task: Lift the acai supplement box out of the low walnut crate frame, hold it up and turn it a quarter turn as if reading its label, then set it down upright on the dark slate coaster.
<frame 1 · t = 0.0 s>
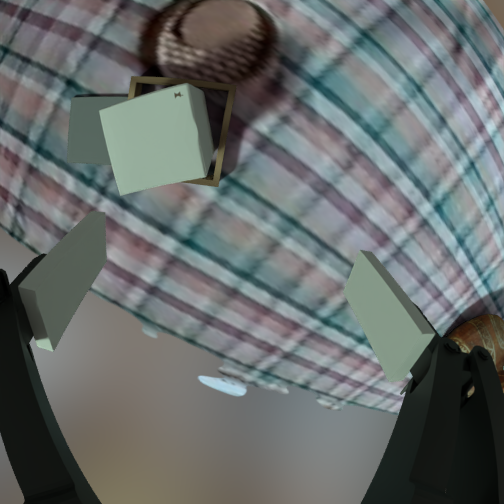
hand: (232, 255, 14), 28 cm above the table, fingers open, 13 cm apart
supplement box: (178, 128, 36), resting in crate
jug: (456, 344, 65), on the table
coaster: (98, 130, 35), on the table
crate: (177, 128, 36), on the table
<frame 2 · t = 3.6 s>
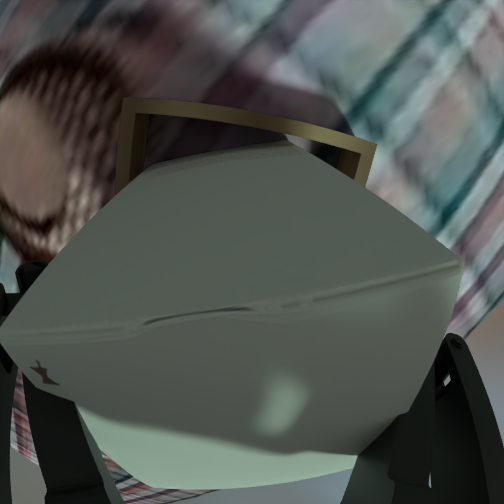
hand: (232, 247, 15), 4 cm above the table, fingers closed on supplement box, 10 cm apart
supplement box: (231, 215, 19), resting in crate, touching gripper
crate: (231, 216, 19), on the table
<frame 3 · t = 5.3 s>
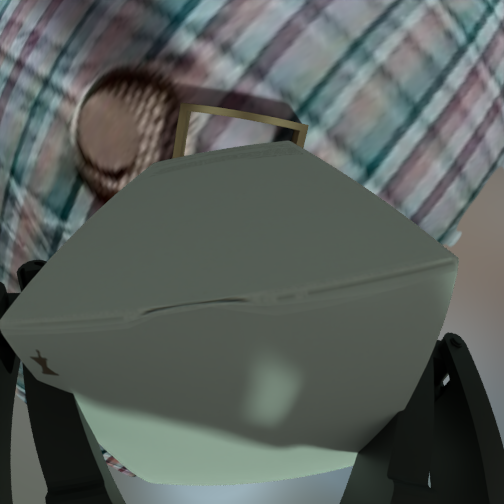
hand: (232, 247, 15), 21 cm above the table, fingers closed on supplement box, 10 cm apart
supplement box: (232, 214, 19), point 16 cm above the table, touching gripper
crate: (233, 167, 33), on the table
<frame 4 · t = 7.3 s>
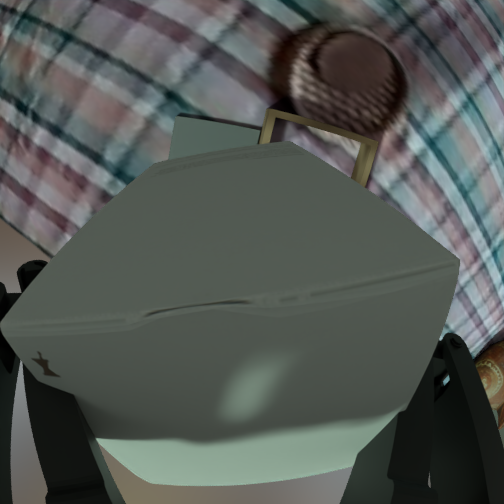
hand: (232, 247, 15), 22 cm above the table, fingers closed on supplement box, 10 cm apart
supplement box: (233, 214, 19), point 17 cm above the table, touching gripper
jug: (483, 362, 65), on the table
coaster: (210, 162, 34), on the table
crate: (306, 174, 35), on the table
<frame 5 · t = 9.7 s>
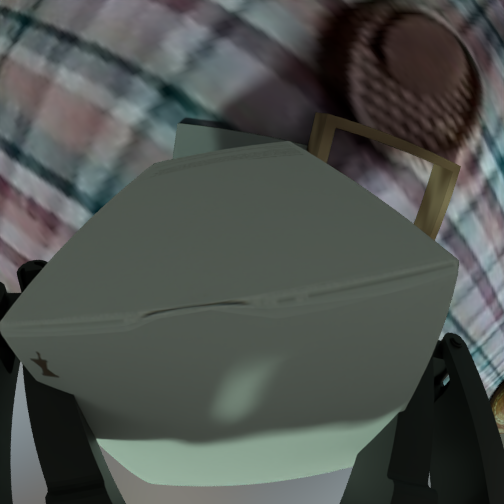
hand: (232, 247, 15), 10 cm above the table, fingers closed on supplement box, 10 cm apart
supplement box: (233, 214, 19), point 5 cm above the table, touching gripper
coaster: (231, 192, 23), on the table
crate: (366, 207, 25), on the table
when the fingers open (7 cm above the table, at t = 11.5 s): supplement box stays where it is, resting on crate.
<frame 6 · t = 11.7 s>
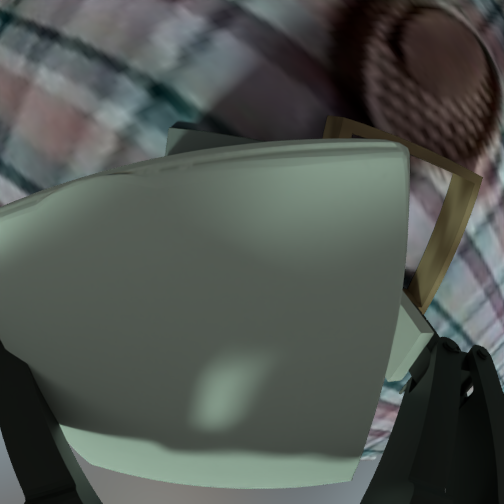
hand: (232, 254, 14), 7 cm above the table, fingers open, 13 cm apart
supplement box: (235, 216, 19), point 2 cm above the table, touching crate, gripper
coaster: (231, 206, 21), on the table
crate: (381, 222, 22), on the table
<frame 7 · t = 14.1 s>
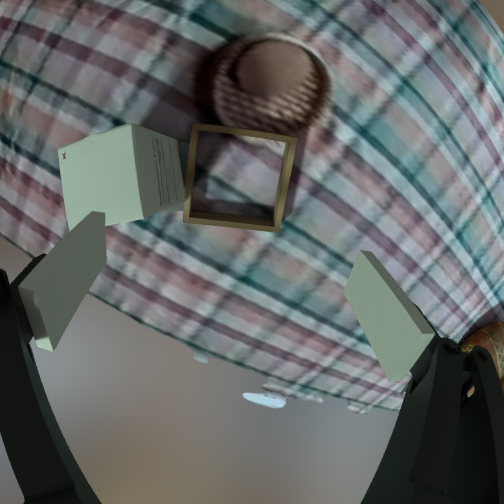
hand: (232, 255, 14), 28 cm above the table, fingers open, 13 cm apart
supplement box: (152, 176, 38), point 2 cm above the table, touching coaster, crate
jug: (469, 348, 68), on the table
coaster: (153, 174, 39), on the table
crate: (237, 175, 40), on the table
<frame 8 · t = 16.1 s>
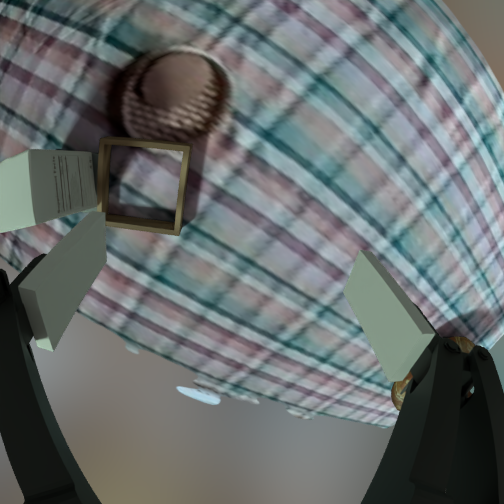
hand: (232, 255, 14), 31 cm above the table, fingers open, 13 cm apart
supplement box: (74, 184, 39), point 2 cm above the table, touching coaster, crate
jug: (425, 362, 71), on the table
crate: (143, 182, 42), on the table
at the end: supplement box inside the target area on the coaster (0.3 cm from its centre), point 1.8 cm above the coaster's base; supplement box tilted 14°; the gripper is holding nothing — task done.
